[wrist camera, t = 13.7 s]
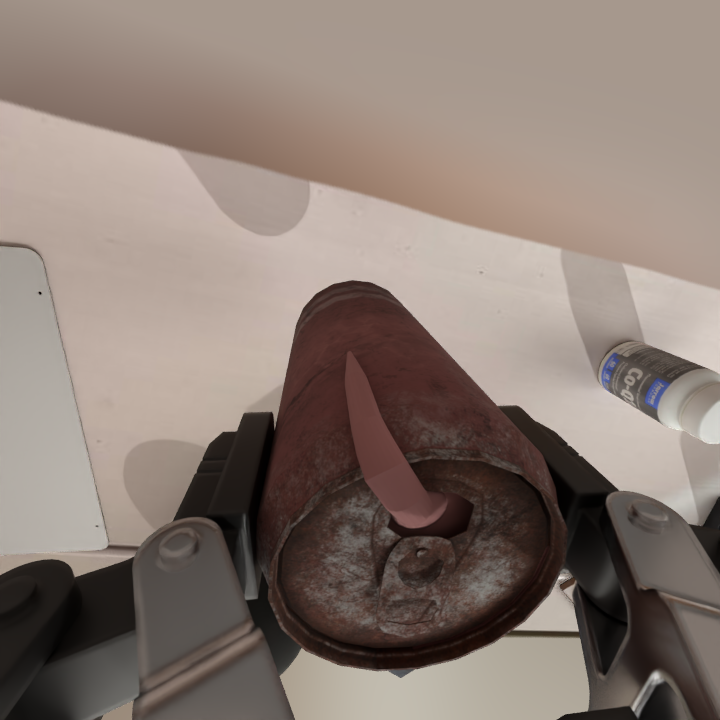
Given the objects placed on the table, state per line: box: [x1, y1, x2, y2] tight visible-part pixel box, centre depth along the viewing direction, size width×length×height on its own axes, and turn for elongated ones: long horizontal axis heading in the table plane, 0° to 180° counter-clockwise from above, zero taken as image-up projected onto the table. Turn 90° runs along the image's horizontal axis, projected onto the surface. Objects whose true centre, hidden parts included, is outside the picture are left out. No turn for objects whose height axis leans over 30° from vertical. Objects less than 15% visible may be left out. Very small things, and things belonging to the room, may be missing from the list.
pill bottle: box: [598, 341, 720, 444], centre depth 26 cm, size 5×5×8 cm
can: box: [256, 280, 568, 671], centre depth 13 cm, size 6×6×14 cm
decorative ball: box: [246, 571, 302, 676], centre depth 28 cm, size 10×10×10 cm
